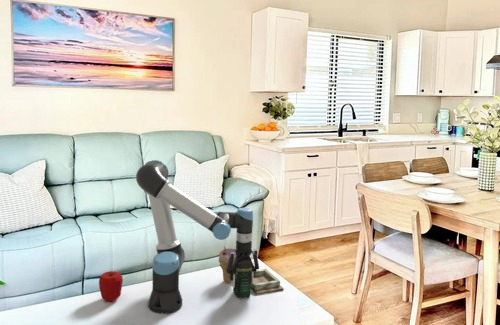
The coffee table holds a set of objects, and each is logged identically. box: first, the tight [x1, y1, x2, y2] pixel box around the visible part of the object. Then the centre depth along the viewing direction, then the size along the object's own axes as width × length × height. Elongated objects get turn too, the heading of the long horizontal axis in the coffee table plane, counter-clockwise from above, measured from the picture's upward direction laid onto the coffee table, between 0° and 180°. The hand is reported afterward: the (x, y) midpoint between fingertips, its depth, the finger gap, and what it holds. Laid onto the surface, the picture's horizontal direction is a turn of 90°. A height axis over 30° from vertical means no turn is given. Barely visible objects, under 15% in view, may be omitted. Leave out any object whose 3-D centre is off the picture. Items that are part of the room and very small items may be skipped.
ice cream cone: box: [218, 247, 237, 284], centre depth 219 cm, size 11×11×20 cm
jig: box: [251, 268, 285, 296], centre depth 220 cm, size 15×22×4 cm
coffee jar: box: [232, 258, 253, 299], centre depth 206 cm, size 10×8×19 cm
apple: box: [98, 270, 124, 303], centre depth 196 cm, size 10×10×14 cm
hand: (242, 284), depth 207 cm, fingers open, 9 cm apart
